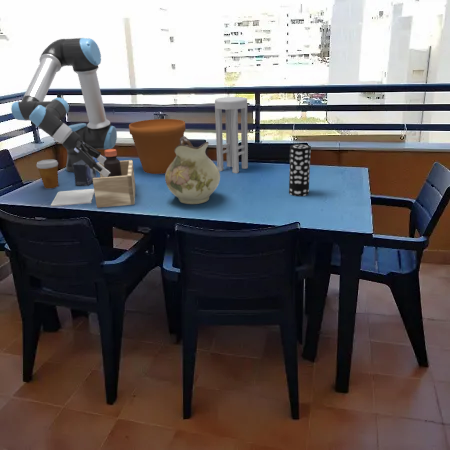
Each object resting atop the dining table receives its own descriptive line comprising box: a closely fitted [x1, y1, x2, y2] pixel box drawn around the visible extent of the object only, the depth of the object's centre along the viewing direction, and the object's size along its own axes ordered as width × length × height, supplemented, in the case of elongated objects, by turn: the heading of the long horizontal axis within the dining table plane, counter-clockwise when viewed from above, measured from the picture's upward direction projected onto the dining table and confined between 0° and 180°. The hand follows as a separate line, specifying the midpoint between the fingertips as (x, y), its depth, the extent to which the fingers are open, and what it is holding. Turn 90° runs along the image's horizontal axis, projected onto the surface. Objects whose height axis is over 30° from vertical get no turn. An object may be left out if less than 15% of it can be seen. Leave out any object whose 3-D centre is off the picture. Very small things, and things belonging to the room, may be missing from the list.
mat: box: [50, 188, 95, 207], centre depth 189 cm, size 18×16×1 cm
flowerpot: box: [128, 118, 186, 175], centre depth 224 cm, size 28×28×24 cm
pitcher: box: [164, 136, 221, 205], centre depth 178 cm, size 22×24×25 cm
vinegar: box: [104, 148, 122, 177], centre depth 186 cm, size 7×7×20 cm
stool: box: [214, 96, 249, 174], centre depth 218 cm, size 16×16×35 cm
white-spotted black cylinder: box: [288, 143, 312, 197], centre depth 182 cm, size 8×8×20 cm
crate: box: [92, 159, 136, 208], centre depth 188 cm, size 27×15×12 cm, turn 10°
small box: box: [73, 158, 98, 187], centre depth 208 cm, size 11×6×10 cm, turn 168°
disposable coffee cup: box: [36, 159, 60, 189], centre depth 203 cm, size 10×10×12 cm
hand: (109, 170), depth 185 cm, fingers open, 13 cm apart
